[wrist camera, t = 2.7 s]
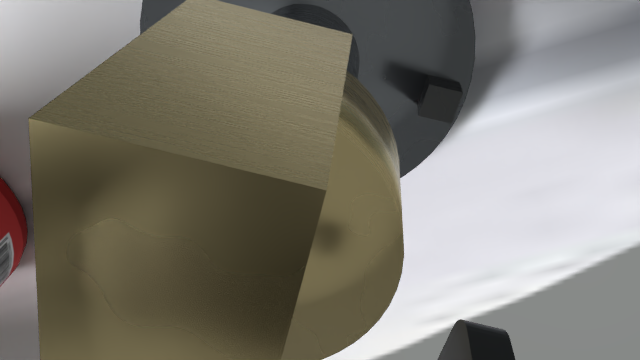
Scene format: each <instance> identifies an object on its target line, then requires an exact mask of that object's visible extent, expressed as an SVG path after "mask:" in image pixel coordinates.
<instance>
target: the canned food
mask: <svg viewBox="0 0 640 360" xmlns="http://www.w3.org/2000/svg"><path fill="white" fill-rule="evenodd" d="M27 232H28V231H27V224H26V219H25V216H24V213H23V210H22V208H21V205H20V204H19V202H18V200H17V198H16V197H15V195H14V193H13V192H12V191H11V189H10V188H9V187H8V186H7V184H6V183H5V182H4V180H2V179H1V178H0V286H1V285H2V284H3V283H4V282H5V281H6V279H7V278H8V277H9V276H10V275H11V274H12V272H13V271H14V270H15V269H16V267H17V266H18V264H19V262H20V259H21V256H22V254H23V251H24V248H25V246H26V243H27Z"/></svg>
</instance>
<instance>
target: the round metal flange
mask: <svg viewBox="0 0 640 360" xmlns="http://www.w3.org/2000/svg"><path fill="white" fill-rule="evenodd" d="M185 1H186V0H143V3H142V11H141V19H140V35H141V34H142V33H143V32H145V31H146V30H147V29H149V28H150V27H151V26H153V25H154V24H155V23H157V22H158V21H159V20H161V19H162V18H163V17H165V16H166V15H167V14H169V13H170V12H171V11H173V10H174V9H175V8H177V7H178V6H180V5H181V4H182V3H184V2H185ZM217 1H221V2H225V3H229V4H233V5H237V6H241V7H245V8H249V9H253V10H257V11H261V12H265V13H269V14H273V15H277V16H281V17H285V18H289V19H293V20H297V21H301V22H305V23H309V24H313V25H317V26H321V27H325V28H329V29H333V30H337V31H341V32H345V33H349V34H353V35H352V41H351V47H350V53H349V59H348V65H347V71H348V72H349V73H350V74H352V75H353V76H354V77H355V78H357V79H358V80H359V81H360V83H361V84H362V85H363V86H364V87H365V88H366V89H367V90H368V91H369V92H370V93H371V95H372V96H373V97H374V99H375V100H376V102H377V103H378V104H379V106H380V107H381V109H382V111H383V112H384V114H385V116H386V118H387V120H388V122H389V124H390V126H391V129H392V132H393V135H394V138H395V141H396V145H397V150H398V155H399V168H400V178H401V177H403V176H404V175H406V174H407V173H408V172H410V171H411V170H413V169H414V168H415V167H417V166H418V165H419V164H420V163H421V162H422V161H423V160H425V159H426V158H427V157H428V156H429V155H430V154H431V153H432V152H433V151H434V150H435V148H436V147H437V146H438V145H439V144H440V142H441V141H442V140H443V139H444V138H445V136H446V135H447V133H448V131H449V130H450V128H451V127H452V125H453V124H454V122H455V120H456V119H457V116H458V114H459V112H460V110H461V108H462V105H463V103H464V101H465V98H466V95H467V92H468V88H469V85H470V82H471V77H472V71H473V65H474V59H475V31H474V22H473V13H472V9H471V5H470V1H469V0H217Z"/></svg>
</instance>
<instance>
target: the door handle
mask: <svg viewBox="0 0 640 360" xmlns="http://www.w3.org/2000/svg"><path fill="white" fill-rule="evenodd" d="M352 35H353V34H349V33H345V32H341V31H337V30H333V29H329V28H325V27H321V26H317V25H313V24H309V23H305V22H301V21H297V20H293V19H289V18H285V17H281V16H277V15H273V14H269V13H265V12H261V11H257V10H253V9H249V8H245V7H241V6H237V5H233V4H229V3H225V2H221V1H217V0H186V1H185V2H184V3H182V4H181V5H180V6H178V7H177V8H175V9H174V10H173V11H171V12H170V13H169V14H167V15H166V16H165V17H163V18H162V19H161V20H159V21H158V22H157V23H155V24H154V25H153V26H151V27H150V28H149V29H147V30H146V31H145V32H143V33H142V34H141V35H139V36H138V37H137V38H135V39H134V40H133V41H131V42H130V43H129V44H127V45H126V46H125V47H123V48H122V49H121V50H119V51H118V52H117V53H115V54H114V55H113V56H111V57H110V58H109V59H107V60H106V61H104V62H103V63H102V64H100V65H99V66H98V67H96V68H95V69H94V70H92V71H91V72H90V73H88V74H87V75H86V76H84V77H83V78H82V79H80V80H79V81H78V82H76V83H75V84H74V85H72V86H71V87H70V88H68V89H67V90H66V91H64V92H63V93H62V94H60V95H59V96H58V97H56V98H55V99H54V100H52V101H51V102H50V103H48V104H47V105H46V106H44V107H43V108H42V109H40V110H39V111H38V112H36V113H35V114H34V115H32V116H31V117H29V139H30V159H31V180H32V200H33V221H34V241H35V261H36V282H37V302H38V323H39V343H40V360H322V359H324V358H326V357H329V356H331V355H333V354H335V353H338V352H340V351H341V350H343V349H345V348H346V347H348V346H350V345H351V344H353V343H354V342H356V341H357V340H358V339H359V338H361V337H362V336H363V335H364V334H366V333H367V332H368V331H369V330H370V329H371V328H372V327H373V326H374V325H375V324H376V323H377V321H378V320H379V319H380V318H381V316H382V315H383V314H384V312H385V311H386V309H387V308H388V306H389V305H390V303H391V301H392V299H393V296H394V294H395V292H396V290H397V287H398V284H399V280H400V277H401V274H402V267H403V258H404V244H403V224H402V205H401V187H400V168H399V155H398V150H397V145H396V141H395V138H394V135H393V132H392V129H391V126H390V124H389V122H388V120H387V118H386V116H385V114H384V112H383V111H382V109H381V107H380V106H379V104H378V103H377V102H376V100H375V99H374V97H373V96H372V95H371V93H370V92H369V91H368V90H367V89H366V88H365V87H364V86H363V85H362V84H361V83H360V81H359V80H358V79H357V78H355V77H354V76H353V75H352V74H350V73H349V72H348V71H347V65H348V59H349V53H350V47H351V41H352Z"/></svg>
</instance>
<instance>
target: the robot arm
mask: <svg viewBox="0 0 640 360" xmlns="http://www.w3.org/2000/svg"><path fill="white" fill-rule="evenodd" d="M438 360H515V357H514V353H513V349H512V345H511V342H510V338H509V335H508V333H507V332H506V331H505V330H503V329H499V328H494V327H491V326H486V325H482V324H478V323H473V322H469V321H465V320H458V321H457V322H456V323H455V325H454V326H453V328H452V330H451V332H450V334H449V337H448V339H447V341H446V343H445V345H444V347H443V349H442V351H441V353H440V355H439V358H438Z"/></svg>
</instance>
